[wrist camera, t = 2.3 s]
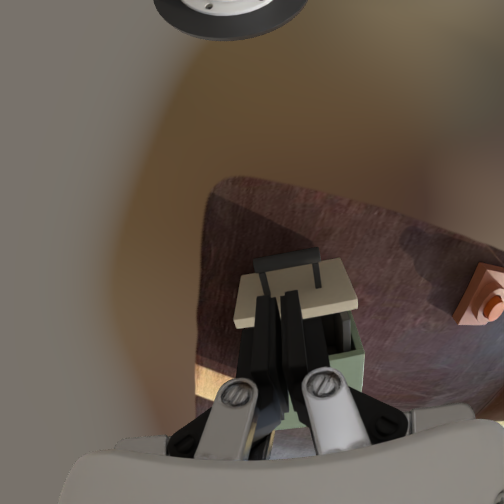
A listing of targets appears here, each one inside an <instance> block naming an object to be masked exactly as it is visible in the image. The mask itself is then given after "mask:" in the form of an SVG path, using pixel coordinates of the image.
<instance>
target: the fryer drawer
mask: <svg viewBox="0 0 504 504" xmlns="http://www.w3.org/2000/svg"><path fill="white" fill-rule="evenodd" d="M253 266H254V270H255V273H253V274H247V275H242V276H241V279H240V285H239V290H238V296H237V302H236V307H235V313H234V319H233V320H234V323H235V326H236V328H237V329H239V328H246V327H248V329H249V328H254V322H255V310H256V298H257V296H263V295H269V294H270V296H271V298H272V297H276V300H277V304H278V309H279V313H280V317H281V306H280V296H284V295H285V292H287V291H292V290H298V294H299V299H300V305H301V311H302V317H303V320H308V319H314V318H319V317H321V320H322V325H323V330H324V335H325V340H326V345H327V351H328V355H334V354H339V353H344V352H349V351H351V332H350V317H349V314H348V310H353V309H357V308H358V301H357V296H356V294H355V292H354V289H353V287H352V284H351V282H350V280H349V277H348V275H347V273H346V270H345V268H344V266H343V264H342V261H341V259H340V258H335V259H330V260H325V261H321V257H320V252H319V248H318V247H314V248H309V249H303V250H298V251H292V252H287V253H282V254H276V255H271V256H265V257H260V258H254V259H253Z"/></svg>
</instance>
